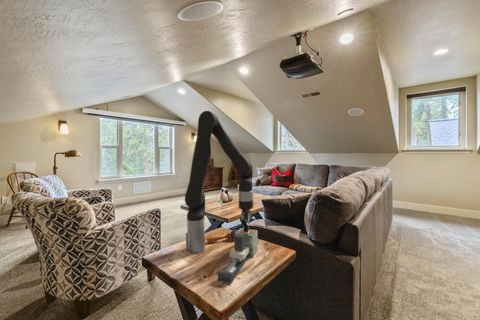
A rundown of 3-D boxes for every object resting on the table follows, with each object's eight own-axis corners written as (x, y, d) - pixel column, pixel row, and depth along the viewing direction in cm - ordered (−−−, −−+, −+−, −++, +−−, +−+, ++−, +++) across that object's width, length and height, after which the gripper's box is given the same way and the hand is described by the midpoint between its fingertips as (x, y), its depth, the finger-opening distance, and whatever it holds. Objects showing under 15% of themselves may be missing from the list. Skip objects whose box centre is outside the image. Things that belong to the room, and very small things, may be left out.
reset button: (240, 240, 113) (240, 232, 113) (243, 236, 117) (243, 229, 117) (248, 241, 112) (248, 233, 112) (251, 237, 116) (251, 230, 116)
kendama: (206, 234, 130) (237, 227, 136) (207, 245, 129) (239, 237, 136) (207, 236, 124) (240, 229, 131) (209, 247, 123) (242, 239, 130)
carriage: (243, 262, 100) (243, 239, 100) (229, 260, 103) (229, 237, 103) (249, 254, 108) (248, 233, 107) (236, 252, 110) (235, 231, 110)
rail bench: (235, 284, 87) (235, 258, 87) (213, 279, 91) (213, 254, 90) (257, 250, 117) (257, 230, 116) (240, 247, 120) (240, 228, 120)
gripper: (243, 196, 121) (243, 226, 122) (234, 201, 109) (235, 235, 110) (256, 196, 118) (256, 228, 119) (248, 202, 106) (249, 237, 107)
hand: (246, 231), depth 114 cm, fingers closed
